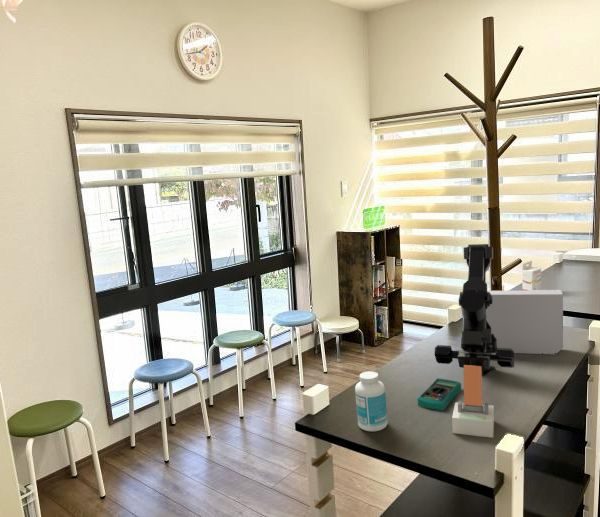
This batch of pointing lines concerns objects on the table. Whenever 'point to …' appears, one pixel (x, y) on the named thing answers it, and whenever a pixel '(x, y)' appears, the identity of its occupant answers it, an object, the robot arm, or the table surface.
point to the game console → (527, 320)
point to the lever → (472, 388)
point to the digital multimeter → (439, 394)
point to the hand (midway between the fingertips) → (473, 388)
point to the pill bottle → (371, 402)
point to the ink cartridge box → (531, 277)
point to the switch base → (473, 421)
